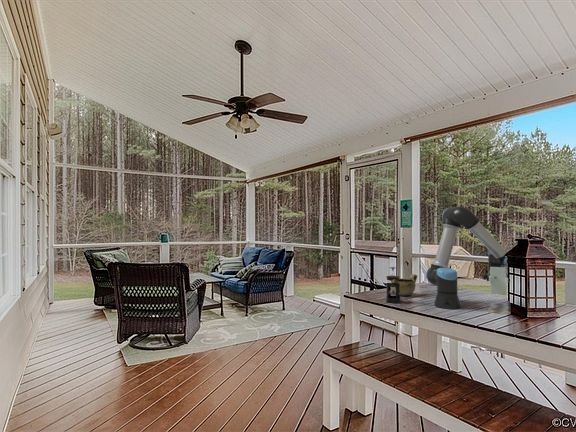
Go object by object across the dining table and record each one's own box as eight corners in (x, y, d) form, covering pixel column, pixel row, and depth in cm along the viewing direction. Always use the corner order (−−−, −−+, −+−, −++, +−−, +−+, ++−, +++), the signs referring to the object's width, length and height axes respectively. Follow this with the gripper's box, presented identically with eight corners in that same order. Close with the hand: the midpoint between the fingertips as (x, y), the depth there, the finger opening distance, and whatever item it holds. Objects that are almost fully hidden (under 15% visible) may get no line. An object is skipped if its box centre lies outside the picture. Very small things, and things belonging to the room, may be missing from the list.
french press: (404, 303, 234) (403, 268, 235) (391, 304, 231) (391, 268, 232) (394, 299, 245) (393, 266, 246) (381, 300, 243) (381, 266, 243)
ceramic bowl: (398, 298, 249) (398, 276, 249) (383, 294, 265) (383, 273, 265) (423, 295, 257) (423, 275, 257) (408, 291, 273) (407, 272, 273)
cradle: (488, 312, 208) (488, 301, 208) (487, 310, 214) (487, 299, 214) (510, 314, 203) (510, 303, 203) (509, 312, 209) (509, 301, 209)
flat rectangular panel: (490, 294, 214) (490, 267, 214) (490, 293, 216) (490, 266, 217) (506, 295, 210) (506, 268, 210) (505, 294, 213) (505, 267, 213)
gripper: (515, 282, 225) (519, 288, 205) (477, 279, 234) (478, 285, 214) (514, 270, 225) (519, 274, 205) (477, 268, 235) (478, 272, 214)
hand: (498, 280), depth 209 cm, fingers closed on flat rectangular panel, 8 cm apart
